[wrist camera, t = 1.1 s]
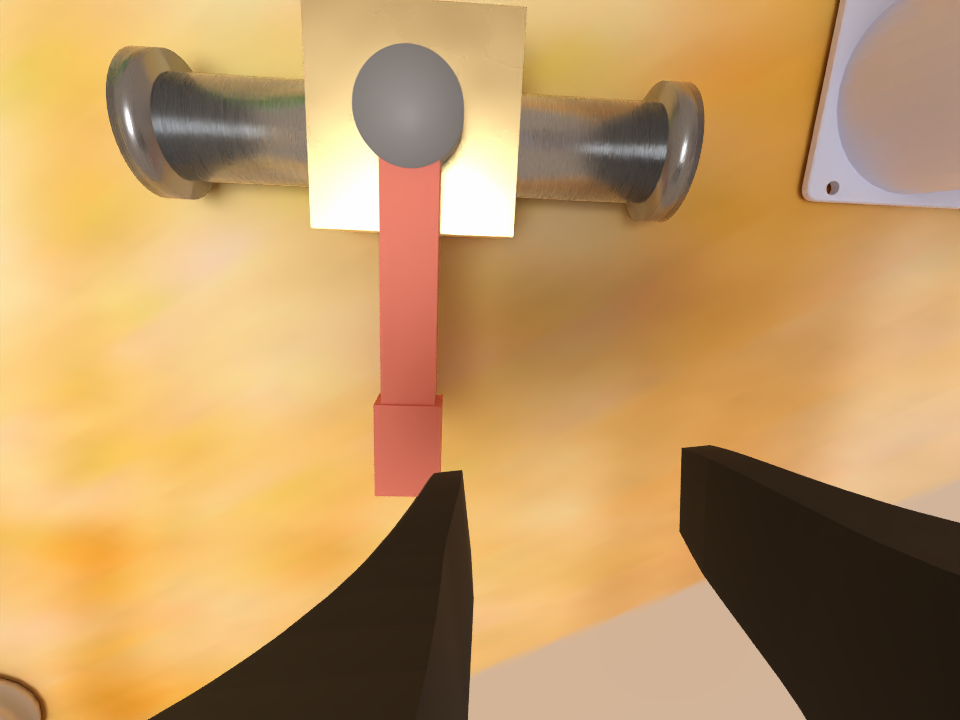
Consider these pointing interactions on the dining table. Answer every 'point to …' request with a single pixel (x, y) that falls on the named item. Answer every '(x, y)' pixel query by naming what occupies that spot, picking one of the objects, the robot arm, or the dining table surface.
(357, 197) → the valve body
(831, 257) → the dining table surface
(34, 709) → the rook chess piece
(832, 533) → the robot arm
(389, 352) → the lever
